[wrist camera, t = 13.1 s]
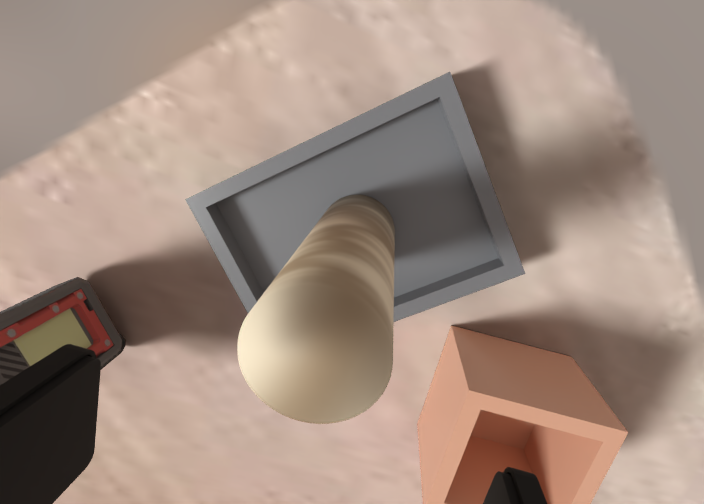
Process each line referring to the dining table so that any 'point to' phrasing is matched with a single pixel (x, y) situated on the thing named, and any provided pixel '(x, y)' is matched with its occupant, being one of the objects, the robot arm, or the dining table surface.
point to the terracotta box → (512, 422)
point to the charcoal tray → (381, 184)
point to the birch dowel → (327, 319)
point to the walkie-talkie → (56, 327)
